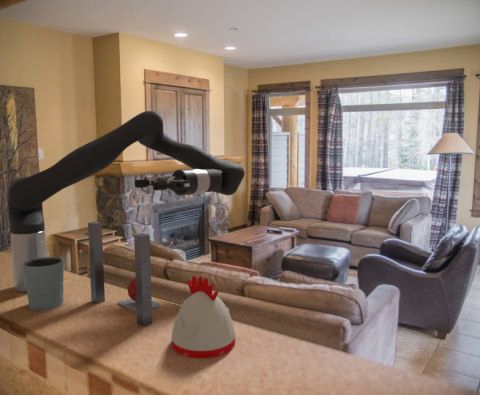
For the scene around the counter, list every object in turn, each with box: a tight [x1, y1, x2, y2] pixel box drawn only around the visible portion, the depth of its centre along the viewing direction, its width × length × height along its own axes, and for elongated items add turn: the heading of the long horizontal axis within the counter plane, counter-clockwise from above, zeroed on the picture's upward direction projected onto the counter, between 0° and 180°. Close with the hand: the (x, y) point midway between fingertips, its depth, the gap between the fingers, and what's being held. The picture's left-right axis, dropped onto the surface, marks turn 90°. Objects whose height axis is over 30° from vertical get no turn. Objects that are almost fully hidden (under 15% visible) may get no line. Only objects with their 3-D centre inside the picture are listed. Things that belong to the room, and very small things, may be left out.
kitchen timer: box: [171, 275, 236, 359], centre depth 97 cm, size 14×14×15 cm
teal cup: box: [23, 256, 65, 311], centre depth 119 cm, size 10×10×12 cm
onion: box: [127, 277, 136, 302], centre depth 119 cm, size 6×6×8 cm
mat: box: [117, 297, 162, 314], centre depth 119 cm, size 10×7×1 cm
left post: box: [87, 221, 106, 304], centre depth 121 cm, size 3×3×22 cm
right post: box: [133, 232, 153, 328], centre depth 106 cm, size 3×3×22 cm
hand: (144, 185), depth 119 cm, fingers open, 8 cm apart
